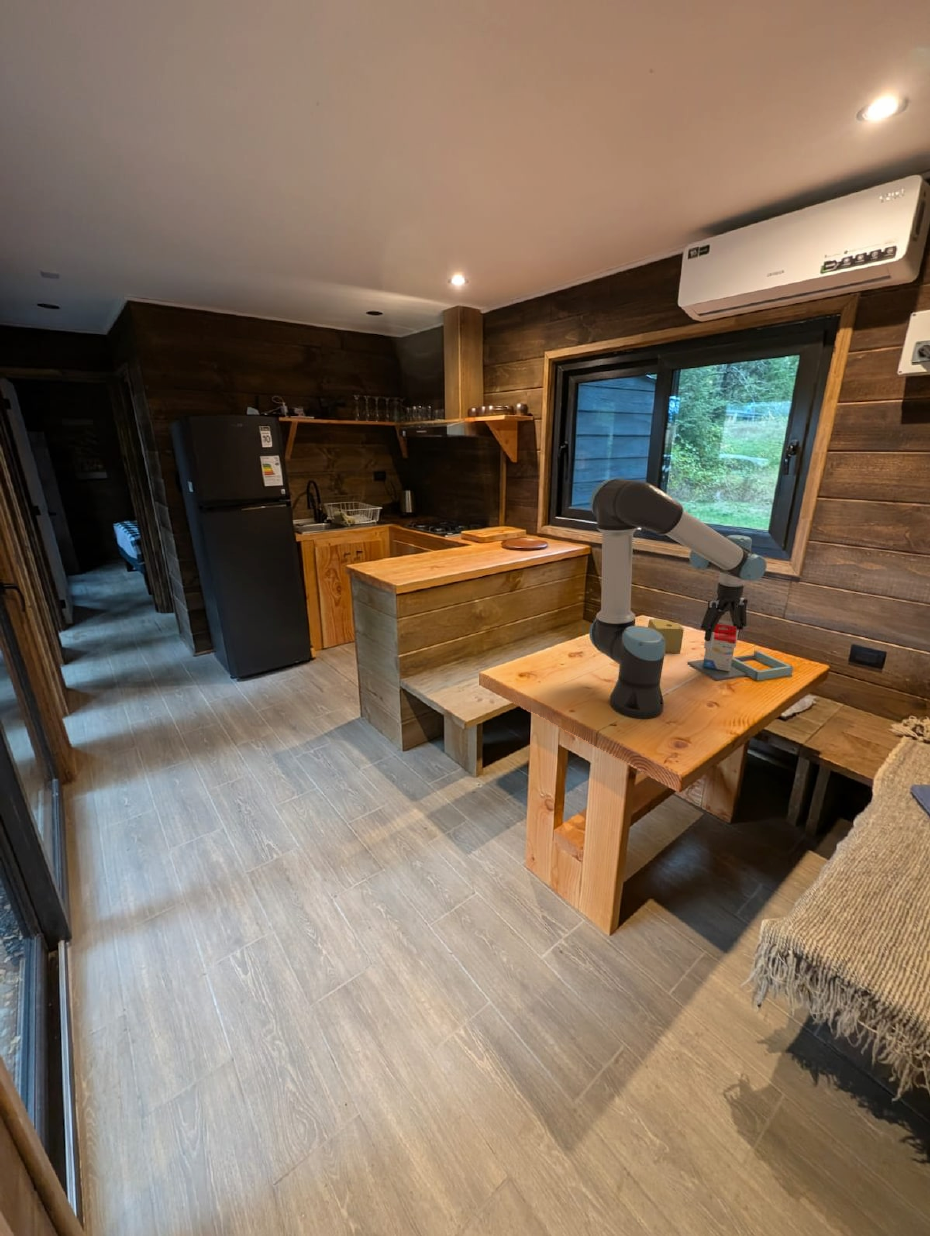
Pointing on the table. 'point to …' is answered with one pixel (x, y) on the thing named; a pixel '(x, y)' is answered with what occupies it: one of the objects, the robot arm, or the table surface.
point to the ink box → (721, 648)
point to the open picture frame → (777, 670)
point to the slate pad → (717, 671)
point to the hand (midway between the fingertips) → (719, 647)
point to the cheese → (668, 634)
